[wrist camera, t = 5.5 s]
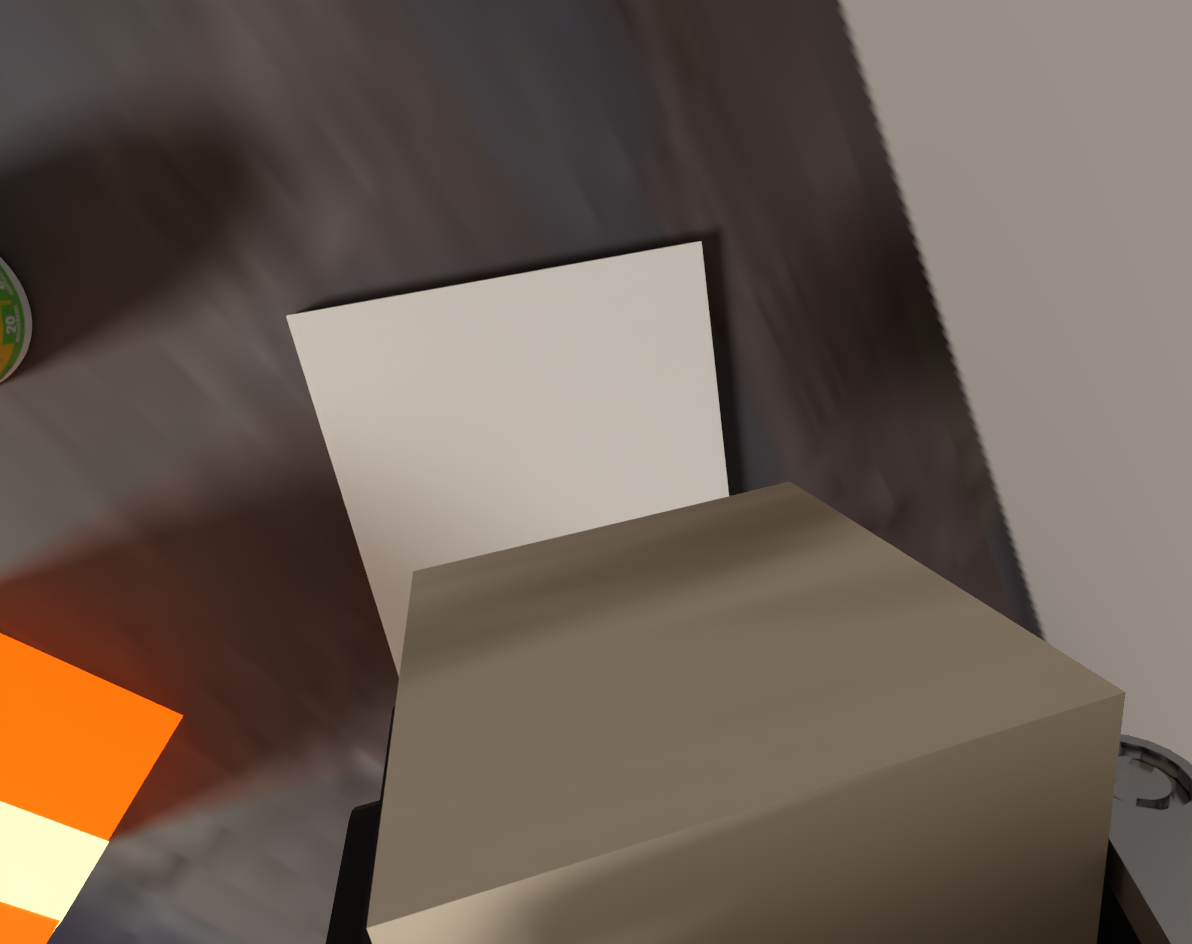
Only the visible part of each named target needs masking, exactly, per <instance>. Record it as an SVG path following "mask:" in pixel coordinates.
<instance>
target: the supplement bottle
mask: <svg viewBox="0 0 1192 944" xmlns="http://www.w3.org/2000/svg"><path fill="white" fill-rule="evenodd" d="M31 334H32V316H31V310H30V306H29V302H28V299H27V296H26V294H25V292H24V289H23V287H22V285H21V283H20V282H19V280H18V278H17V277H16V275H15V274H14V273H13V271H12V270H11V269H10V267H9V266H8V265H7V264H6V263H5V261H4V260H3V259H2V258H1V257H0V382H2V381H3V380H5V379H6V378H7V377H8V376H9V375H11V374H12V373H13V372H14V371H15V369H16V368H17V367H18V366H19V364H20V363H21V362H22V360H23V358H24V357H25V355H26V353H27V350H28V347H29V344H30V340H31Z"/></svg>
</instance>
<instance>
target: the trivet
mask: <svg viewBox="0 0 1192 944" xmlns="http://www.w3.org/2000/svg"><path fill="white" fill-rule="evenodd" d="M286 317H287V320H288V324H289V327H290V330H291V333H292V337H293V340H294V343H295V346H296V349H297V353H298V356H299V359H300V362H301V365H302V369H303V372H304V375H305V378H306V381H307V385H308V388H309V391H310V394H311V397H312V401H313V404H314V407H315V410H316V413H317V417H318V420H319V423H320V426H321V429H322V433H323V436H324V439H325V442H326V445H327V449H328V452H329V455H330V458H331V461H332V465H333V468H334V471H335V474H336V477H337V481H338V484H339V487H340V490H341V493H342V497H343V500H344V503H345V506H346V509H347V513H348V516H349V519H350V522H351V525H352V529H353V532H354V535H355V538H356V541H357V545H358V548H359V551H360V554H361V557H362V561H363V564H364V567H365V570H366V573H367V577H368V580H369V583H370V586H371V589H372V593H373V596H374V599H375V602H376V605H377V609H378V612H379V615H380V618H381V621H382V625H383V628H384V631H385V634H386V637H387V641H388V644H389V647H390V650H391V653H392V657H393V660H394V663H395V666H396V669H397V673H398V676H399V675H400V667H401V660H402V652H403V644H404V637H405V629H406V621H407V614H408V606H409V598H410V591H411V583H412V575H413V571H417V570H421V569H425V568H429V567H433V566H438V565H442V564H446V563H450V562H455V561H459V560H463V559H467V558H471V557H476V556H480V555H484V554H488V553H492V552H497V551H501V550H505V549H509V548H513V547H518V546H522V545H526V544H530V543H535V542H539V541H543V540H547V539H551V538H556V537H560V536H564V535H568V534H572V533H577V532H581V531H585V530H589V529H593V528H598V527H602V526H606V525H610V524H615V523H619V522H623V521H627V520H631V519H636V518H640V517H644V516H648V515H652V514H657V513H661V512H665V511H669V510H673V509H678V508H682V507H686V506H690V505H695V504H699V503H703V502H707V501H711V500H716V499H720V498H724V497H728V496H729V491H728V481H727V472H726V463H725V454H724V444H723V435H722V426H721V417H720V407H719V398H718V389H717V380H716V370H715V361H714V352H713V343H712V333H711V324H710V315H709V306H708V296H707V287H706V278H705V269H704V259H703V250H702V241H698V242H689V243H684V244H678V245H673V246H667V247H662V248H656V249H651V250H645V251H639V252H634V253H628V254H623V255H617V256H612V257H606V258H600V259H595V260H589V261H584V262H578V263H573V264H567V265H561V266H556V267H550V268H545V269H539V270H534V271H528V272H522V273H517V274H511V275H506V276H500V277H495V278H489V279H483V280H478V281H472V282H467V283H461V284H456V285H450V286H445V287H439V288H433V289H428V290H422V291H417V292H411V293H406V294H400V295H394V296H389V297H383V298H378V299H372V300H367V301H361V302H355V303H350V304H344V305H339V306H333V307H328V308H322V309H316V310H311V311H305V312H300V313H294V314H291V315H287V316H286Z"/></svg>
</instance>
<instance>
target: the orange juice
mask: <svg viewBox="0 0 1192 944" xmlns="http://www.w3.org/2000/svg"><path fill="white" fill-rule="evenodd" d="M182 717H183V715H181V714H179V713H176V712H174V711H172V710H170V709H168V708H165V707H163V706H161V705H159V704H156V703H154V702H152V701H150V700H148V699H145V698H143V697H141V696H139V695H137V694H134V693H132V692H130V691H128V690H125V689H123V688H121V687H119V686H117V685H114V684H112V683H110V682H108V681H105V680H103V679H101V678H99V677H97V676H94V675H92V674H90V673H88V672H85V671H83V670H81V669H79V668H77V667H74V666H72V665H70V664H68V663H66V662H63V661H61V660H59V659H57V658H54V657H52V656H50V655H48V654H46V653H43V652H41V651H39V650H37V649H34V648H32V647H30V646H28V645H26V644H23V643H21V642H19V641H17V640H14V639H12V638H10V637H8V636H6V635H3V634H1V633H0V944H46V943H47V941H48V939H49V938H50V936H51V934H52V933H53V932H54V930H55V929H56V928H57V926H58V925H59V924H60V922H61V921H62V920H63V918H64V916H65V915H66V913H67V911H68V910H69V908H70V906H71V905H72V903H73V901H74V900H75V898H76V896H77V895H78V893H79V891H80V890H81V888H82V886H83V885H84V883H85V881H86V880H87V878H88V876H89V875H90V873H91V871H92V870H93V868H94V866H95V865H96V863H97V861H98V860H99V858H100V856H101V855H102V853H103V851H104V850H105V848H106V846H107V845H108V843H109V841H108V840H109V838H110V837H111V835H112V833H113V832H114V830H115V828H116V827H117V825H118V823H119V822H120V820H121V818H122V817H123V815H124V813H125V812H126V810H127V808H128V807H129V805H130V803H131V802H132V800H133V798H134V797H135V795H136V793H137V792H138V790H139V788H140V787H141V785H142V783H143V782H144V780H145V778H146V777H147V775H148V773H149V772H150V770H151V768H152V767H153V765H154V763H155V762H156V760H157V758H158V757H159V755H160V754H161V752H162V750H163V749H164V747H165V745H166V744H167V742H168V740H169V739H170V737H171V735H172V734H173V732H174V730H175V729H176V727H177V725H178V724H179V722H180V720H181V719H182Z"/></svg>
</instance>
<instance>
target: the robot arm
mask: <svg viewBox="0 0 1192 944" xmlns="http://www.w3.org/2000/svg"><path fill="white" fill-rule="evenodd" d="M394 713H395V707H393V711H392V717H391V724H390V731H389V739H388V746H387V753H386V761H385V768H384V775H383V783H382V790H381V797H380V800H379V801H376V802H372V803H369V804H365V805H362V806H358V807H355V808H354V809H353V811H352V812H351V816H350V819H349V824H348V829H347V834H346V839H345V845H344V850H343V855H342V861H341V866H340V871H339V877H338V882H337V887H336V893H335V898H334V903H333V908H332V914H331V919H330V924H329V930H328V935H327V940H326V944H372V942H371V939H370V936H369V934H368V931H367V929H366V928H367V920H368V912H369V905H370V897H371V889H372V882H373V874H374V866H375V859H376V851H377V843H378V836H379V828H380V820H381V813H382V805H383V797H384V790H385V782H386V774H387V767H388V759H389V752H390V744H391V736H392V729H393V721H394ZM1097 944H1192V765H1191V764H1190V763H1189V762H1188V761H1187V760H1185V759H1184V758H1182V757H1180V756H1179V755H1177V754H1176V753H1174V752H1172V751H1171V750H1169V749H1167V748H1164V747H1162V746H1159V745H1157V744H1155V743H1153V742H1150V741H1148V740H1143V739H1140V738H1136V737H1133V736H1129V735H1121V734H1120V743H1119V752H1118V760H1117V769H1116V778H1115V787H1114V796H1113V804H1112V813H1111V822H1110V831H1109V839H1108V848H1107V857H1106V866H1105V874H1104V883H1103V892H1102V901H1101V910H1100V918H1099V927H1098V936H1097Z"/></svg>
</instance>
